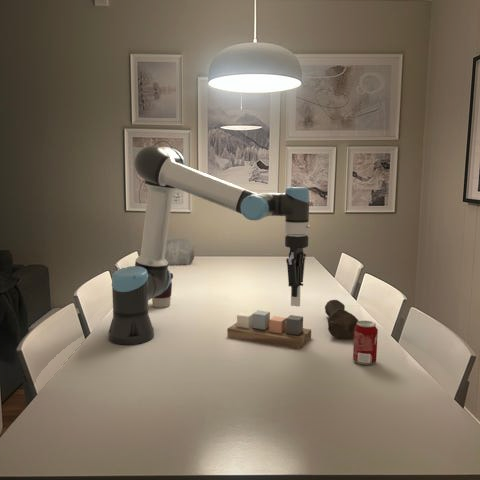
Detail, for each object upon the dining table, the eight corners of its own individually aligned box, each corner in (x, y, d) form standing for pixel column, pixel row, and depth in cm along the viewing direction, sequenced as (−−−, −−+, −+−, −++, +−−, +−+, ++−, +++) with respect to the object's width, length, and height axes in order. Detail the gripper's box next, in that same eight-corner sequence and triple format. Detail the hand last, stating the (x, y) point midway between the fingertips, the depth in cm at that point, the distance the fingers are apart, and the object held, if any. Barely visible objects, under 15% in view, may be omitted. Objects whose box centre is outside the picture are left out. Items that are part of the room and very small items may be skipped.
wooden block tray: (299, 349, 156) (300, 340, 156) (227, 336, 167) (227, 328, 167) (311, 337, 167) (311, 329, 167) (242, 326, 178) (242, 318, 178)
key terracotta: (281, 336, 163) (281, 321, 162) (269, 334, 165) (269, 319, 164) (285, 332, 167) (286, 317, 166) (273, 330, 169) (274, 316, 168)
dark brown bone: (351, 348, 164) (337, 330, 192) (366, 321, 164) (351, 307, 191) (322, 332, 164) (313, 317, 192) (338, 305, 164) (326, 293, 192)
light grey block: (264, 329, 165) (264, 315, 164) (252, 327, 167) (253, 313, 166) (269, 326, 169) (269, 312, 168) (257, 324, 171) (258, 310, 170)
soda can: (372, 368, 142) (374, 328, 140) (349, 363, 145) (351, 324, 144) (379, 360, 147) (380, 322, 146) (357, 356, 151) (358, 318, 149)
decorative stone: (159, 265, 290) (163, 262, 300) (192, 266, 289) (195, 262, 299) (158, 238, 288) (162, 235, 298) (192, 238, 287) (194, 235, 297)
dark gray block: (298, 335, 160) (298, 320, 159) (285, 333, 162) (286, 318, 161) (302, 331, 164) (303, 316, 163) (290, 329, 166) (290, 314, 165)
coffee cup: (168, 309, 199) (168, 273, 197) (145, 308, 201) (145, 272, 199) (176, 303, 209) (176, 268, 207) (154, 301, 211) (154, 267, 209)
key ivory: (248, 330, 168) (248, 316, 167) (237, 328, 170) (237, 315, 169) (253, 327, 172) (253, 313, 171) (242, 325, 174) (242, 311, 173)
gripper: (301, 237, 151) (299, 312, 154) (313, 233, 163) (312, 302, 166) (278, 236, 154) (277, 309, 157) (292, 231, 166) (291, 299, 169)
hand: (295, 305), depth 162 cm, fingers closed
